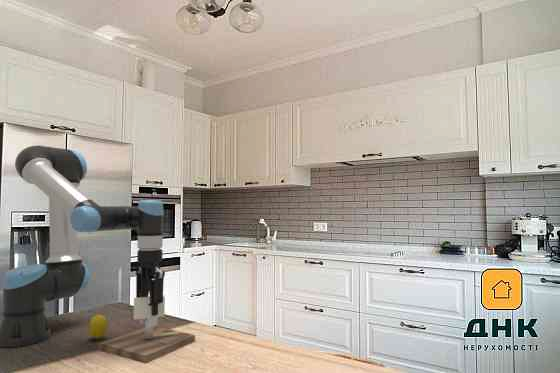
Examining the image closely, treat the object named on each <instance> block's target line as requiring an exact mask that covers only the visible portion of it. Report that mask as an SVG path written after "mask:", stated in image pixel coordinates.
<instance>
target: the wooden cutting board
mask: <svg viewBox="0 0 560 373" xmlns="http://www.w3.org/2000/svg"><path fill="white" fill-rule="evenodd" d="M172 332H179V334H173V335H165V336H157V337H153V338H152V339H145V327H142V328H140V329H137V330H135V331H132V332H129V333H126V334H123V335H119V336H117V337H115V338H114V337H113V338H111V339H108V340H105V341H103V342H99V344H98V346H99V349H98V350H99V351H101V352H104V353H109V354H112V355H115V356H118V357H119V356H120V357H123V358H127V359H130V360H134V361H136V362H140V363H144V364H147V363H149V362H152V361H155V360H156V359H158V358H160V357H161V358H162V357H163V356H166V355H167V354H170V353H172V352H174V351H176V350H179V349H181V348H183V347H185V346H188V345H190V344H192V343H193V342H194V343H195V342H196V334H193V333H188V332H183V331H177V330H173V329H170V328H169V329H168V328H166V327H165V328H164V327H160V326H153V335H156V334H164V333H172Z"/></svg>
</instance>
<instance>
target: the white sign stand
mask: <svg viewBox="0 0 560 373" xmlns="http://www.w3.org/2000/svg"><path fill="white" fill-rule="evenodd" d="M165 301H166V297H165V295H164V294H163V302H162V303H160V304H158V318H160V317H165V315H166V314H165V312H166V311H165V310H166V309H165V308H166V307H165V306H166V302H165ZM148 304H150V296H148V297H139V298H136V297H134V298H133V320H140V319H144V318H145V323H144V328H145V339H152V338H153V337H157V336H165V335H173V334H179V332H180V331H179V332H172V333H164V334H156V335H153V326H152V327H148V310H149V305H148Z"/></svg>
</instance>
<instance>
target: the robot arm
mask: <svg viewBox="0 0 560 373" xmlns="http://www.w3.org/2000/svg"><path fill="white" fill-rule="evenodd" d="M14 167H15V171H16V172H17V174H18V176H19V177H20V178H21V179H23V180H24V181H25V182H26V183H28V184H31V185H34V186H36V187H37V189H39V190H40V191H41V192H42V193H43V194H45V195H46V196H47V197H48V209H49V210H48V211H49V212H48V213H49V217H48V218H49V223H48V224H49V257H48V258H47V259H46V260H45V263H44V264H43V263H42V264H41V263H39V264H38V263H36V264H30V265H23V266H17V267H16V268H13V269H10V270H8V271H7V272H6V273H5V274H4V277H3V278H4V279H3V284H2V288H3V289H2V290H3V292H2V298H3V299H2V318H1V321H0V348H16V347H25V346H29V345H34V344H37V343H41V342H44V341H45V340H47V339H48V338H50V337H51V332H52V331H51V329H52V328H51V327H50V323H49V320H48V317H47V315H46V303H47V302H53V301H57V300H62V299H65V298H72V297H74V296H77V295H80V294H82V293H83V292H84V291H85V290H86V289H87V287H88V285H89V282H90V274H91V272H90V269H89V268H88V265H87V264H86V263H85V262H83V258H82V257H81V256H80V255H78V239H77V236H78V234H77V233H93V232H105V231H121V230H123V231H124V230H137V249H138V250H137V258H136V259H137V260H136V261H137V263H140V266H139V267H135V268H134V269H135V271H134V272H135V275H136V279H135V281H136V282H135V283H136V284H135V285H136V288H135V289H136V290H135V293H136V294H135V295H136V296H135V298H139V297H150V304H148V305H149V310H148V327H152V326H155V327H157V326H158V318H159V317H158V304H160V303H162V302H163V295H164V278H165V274H166V272H165V270H161V269H160V262H162V261H163V252H164V251H163V249H161V248H163V238H164V237H163V236H164V232H163V230H164V229H163V228H164V214H165V212H164V202H163V201H162V200H158V199H156V200H154V199H145V200H143V199H142V200H138V201H139V202H138V203H137V204H138V205H137V206H132V205H131V206H130V205H129V206H127V205H118V206H112V205H111V206H107V205H105V206H104V205H103V206H102V205H99V204H97V203H96V202H95V201H94V200H92V198H90V197H89V196H88V195H87V194H86V193H84V192H83V191H81V189H79V188H78V187H79V186H80V185H81V181H83V180H84V179H85V177H86V176H85V175H87V170H88V164H87V161H86V158H85V157H84V156H83V155H82V154H81V153H80V152H78V151H76V150H72V149H68V148H60V147H54V146H53V147H52V146H45V145H39V144H38V145H30V146H27V147H26V148H23V149H22V150H21V151H20V152H19V153H18V154H17V156H16V158H15V161H14ZM139 324H141V325H143V324H144V325H145V318H144V319H139Z"/></svg>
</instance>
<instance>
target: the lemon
mask: <svg viewBox="0 0 560 373" xmlns="http://www.w3.org/2000/svg"><path fill="white" fill-rule="evenodd" d="M89 321H90V322H89V325H88V333H89V335H90V336H91V337H92V338H94V339H96V340H100V338H102V337H103V336H105V335H106V333H107V331H108V321H107V319H106V317H105V316H104V315H101V314H99V313H98V314H97V315H95V316H94V317H92V318H91V319H90V320H89Z"/></svg>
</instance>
